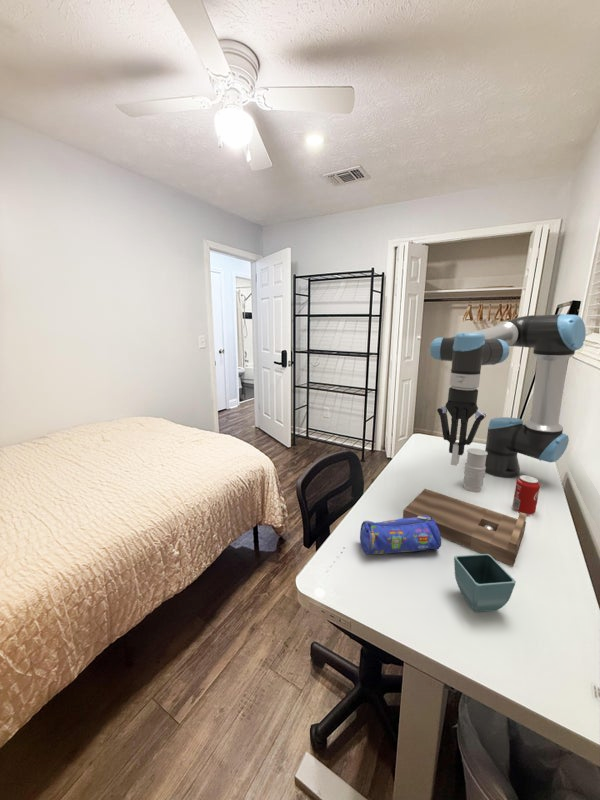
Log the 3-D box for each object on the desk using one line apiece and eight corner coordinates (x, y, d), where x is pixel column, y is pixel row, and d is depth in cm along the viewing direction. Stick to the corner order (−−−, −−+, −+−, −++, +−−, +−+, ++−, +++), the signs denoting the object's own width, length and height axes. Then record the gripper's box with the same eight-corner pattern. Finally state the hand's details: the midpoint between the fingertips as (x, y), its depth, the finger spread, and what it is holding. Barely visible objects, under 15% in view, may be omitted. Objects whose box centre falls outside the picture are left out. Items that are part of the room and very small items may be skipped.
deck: (424, 498, 115) (425, 482, 113) (523, 533, 95) (527, 514, 94) (402, 520, 102) (404, 502, 100) (513, 566, 82) (517, 544, 81)
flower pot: (448, 587, 75) (453, 555, 73) (484, 585, 76) (489, 553, 74) (471, 621, 67) (476, 585, 65) (510, 618, 68) (517, 582, 66)
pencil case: (428, 536, 94) (431, 507, 92) (444, 556, 86) (448, 525, 84) (356, 542, 92) (357, 512, 90) (366, 563, 83) (367, 531, 81)
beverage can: (538, 518, 103) (544, 484, 100) (517, 515, 104) (522, 482, 102) (529, 507, 109) (534, 475, 106) (508, 505, 110) (513, 473, 108)
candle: (463, 490, 120) (468, 453, 117) (461, 482, 126) (466, 447, 123) (483, 494, 118) (489, 456, 114) (481, 485, 124) (486, 449, 121)
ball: (480, 522, 95) (493, 522, 94) (480, 530, 96) (494, 530, 95) (482, 531, 92) (496, 532, 91) (482, 540, 93) (496, 540, 92)
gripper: (435, 386, 93) (428, 461, 98) (485, 392, 84) (475, 474, 90) (444, 383, 98) (437, 454, 103) (492, 388, 90) (481, 465, 95)
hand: (454, 463), depth 97 cm, fingers closed
